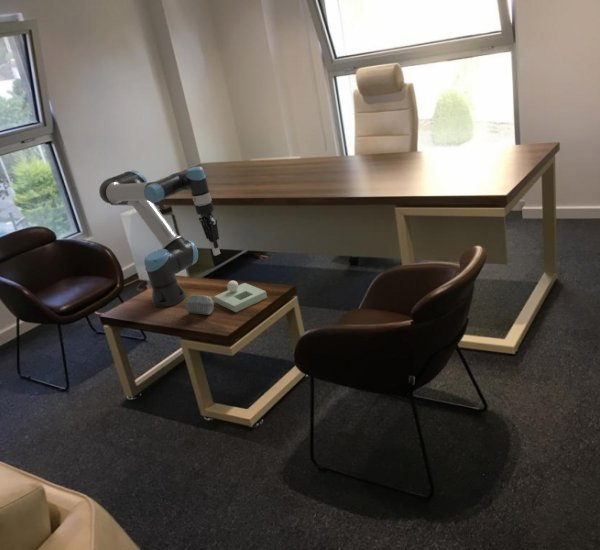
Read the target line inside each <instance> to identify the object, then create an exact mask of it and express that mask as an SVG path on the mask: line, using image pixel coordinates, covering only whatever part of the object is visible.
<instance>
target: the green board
mask: <svg viewBox="0 0 600 550" xmlns="http://www.w3.org/2000/svg"><path fill="white" fill-rule="evenodd" d="M238 286H239V287H238V290H237V291H235V292H231V291H229V290H228V289H227V290H225V291H223V292H221V293H219V294H216V295H214V300H215V303H217V304H218V305H220V306H223V307H224V308H227V309H228V310H230V311H233V312H234V313H238V312H240V311H242V310H244V309H246V308H249V307H250V306H253V305H254V304H257V303H259V302H261V301H264V300H265V299H268V293H267V291H266V290H263V289H261V288H259V287H256V286H254V285H251V284H249V283H246V282H243V283H240V284H238Z"/></svg>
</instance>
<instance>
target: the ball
mask: <svg viewBox="0 0 600 550" xmlns="http://www.w3.org/2000/svg"><path fill="white" fill-rule="evenodd" d="M238 287H239V283H238V281H236V280H230V281H229V282H227V284H226V288H227V290H229V291H231V292H235V291H237V290H238Z"/></svg>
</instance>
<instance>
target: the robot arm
mask: <svg viewBox="0 0 600 550" xmlns="http://www.w3.org/2000/svg"><path fill="white" fill-rule="evenodd" d="M206 177H207V176H206V173H205V170H204V168H203V167H202V166H193V167H189V168H187V169H185V172H176V173H171V174H170V175H169V177H166V178H164V179H161V180H158V181H151V182H150V181H149V182H148V180H147V178H146V177H145V175H144V174H142V172H140V171H138V170H135V169H134V170H129V171H125V172H124V173H120V174H118V175H116V176H113V177H109V178H107V179H105V180H104V181H103V182H101V184H100V186H99V189H98V191H99V197H100V198H101V200H102V201H104V202H105V203H107V204H110V205H114V204H115V205H117V204H121V203H122V202H125V203H126V204H127V205H128V206H132V207H133V208H134V209H135V211H136V212H137V213H138V214H139V216H140V218H141V219H142V220H143V221H144V223H145V224H146V226H147V227H148V228H149V230H150V231H151V233H153V235H154V236H155V237H156V238H155V239H157V241H158V242H159V243H160V245H161V246H162V248H161V249H157V250H154V251H152V252H150V253H149V254H147V255H146V256H145V258H144V259H143V260H144V261H143V262H144V267H145V269H144V270H145V271H146V273H147V277H148V279H149V282H150V286H151V289H152V290H151V291H152V293H151V302H152V304H153V307H154V308H160V309H161V308H162V309H163V308H168V307H172V306H175V305H177V304H179V303H181V302H182V301H184V300H185V298H186V294H185V293H186V292H185V291H184V289H183V287H182V286H181V285H180V284H179V282H178V280H177V277H176V274H178V273H180V272H182V271H184V270H186V269H188V268H191V267H192V266H193V265H194V264H196V263H197V262H198V258H199V251H198V248H197V246H196V244H195V242H193V241H192V240H191V239H185V238H184V237H183V235H178V234H177V232H176V231H175V230H174V229H173V227H172V226H171V224H170V223H169V222H168V221H167V219H166V218H165V217H164V215H163V214H162V212H161V211H160V210H159V208H158V207H157V205H156V204H155V203H159V202H161V201H162V200H165V199H167V198H169V197H172V196H174V195H176V194H179V193H182V192H185V191H190V193H191V197H192V201H193V204H194V205H195V206H194V208H195V212H196V214H197V215H200V217H199V218H198V220H199V222H200V224H201V226H202V229H203V233H204V236H205V238H206V239H207V240H208V241H209V243H210V246H211V250H212V254H213V256H218V255H220V254H221V251H220V246H219V243H218V241H219V239H220V236H219V229H218V220H217V219H214V215H213V211H214V210H215V208H214V205H213V200H212V196H211V193H210V189H209V185H208V180H207V178H206Z"/></svg>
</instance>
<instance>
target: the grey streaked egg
mask: <svg viewBox="0 0 600 550" xmlns="http://www.w3.org/2000/svg"><path fill="white" fill-rule="evenodd" d="M214 308H215V302H214V300H213V298H212V297H210V296H209V295H208V296H207V295H203V294H191V295H188V296H187V298H186V300H185V310H186V311H187V312H188V313H189V314H198V315H203V316H204V315H205V316H206V315H207V316H210V315H211V314H212V313H213V311H214Z"/></svg>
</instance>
